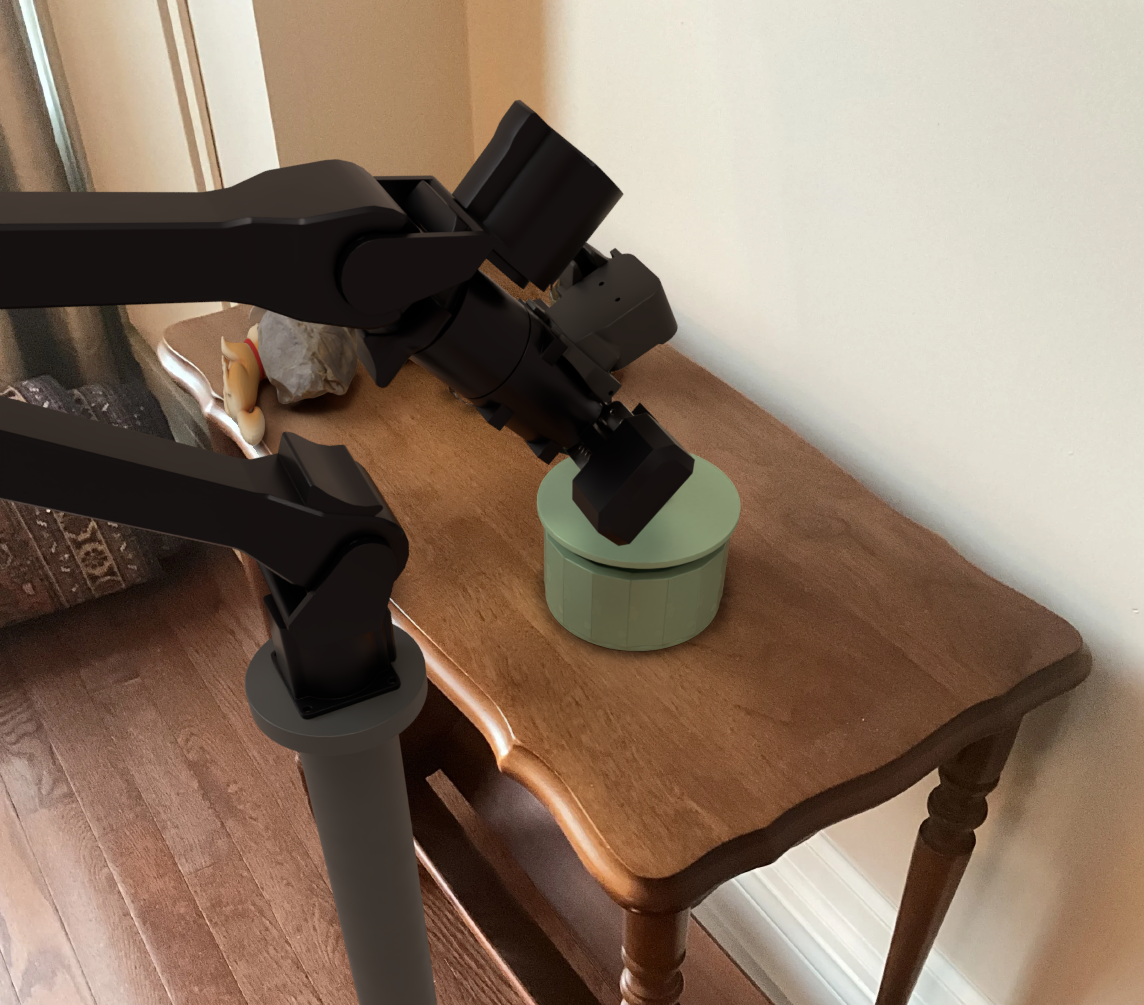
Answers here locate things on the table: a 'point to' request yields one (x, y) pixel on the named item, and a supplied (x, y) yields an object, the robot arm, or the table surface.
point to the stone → (306, 357)
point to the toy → (243, 385)
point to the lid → (669, 539)
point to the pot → (632, 598)
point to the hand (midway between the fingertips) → (659, 478)
